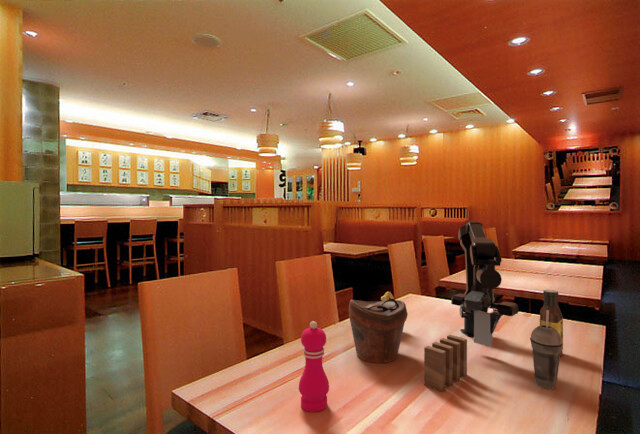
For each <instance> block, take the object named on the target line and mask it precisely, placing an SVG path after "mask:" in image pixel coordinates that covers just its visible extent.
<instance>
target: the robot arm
mask: <svg viewBox="0 0 640 434" xmlns="http://www.w3.org/2000/svg"><path fill="white" fill-rule="evenodd" d="M457 236H458V240H459V243H460V246H461V248H462V250H463V251H464V261H465V284H466V286H465V287H466V290H465V292H464V293H457V294H454V295H453V296H452V297H451V300H450V301H451V305H453V306H458V307H459V315H460V317H461V318H462V319H463V321H464V323H463V328H461V329H460V330H459V331H461V332H462V333H463V334H464V335H466V336H467V337H474V311H476V310H477V311H483V312H487V313H490V316H491V326H490V332H491V334H492V335H493V334H494V332H495V330H496V328H497V325H498V323H499V321H500V319H501V318H502V316H507V317H513V316H515V315H517V314H519V306H518V304H517V303H515V302H510V301H502V302H500V303H498V302H497V303H496V302H495V301H496V298H495V297H494V289H497V288H498V287H499V286H501V283H502V281H503V279H502V276H501V274H500V273H499V271H498V270H496V267H501V263H502V260H503V259H502V256H501V251H500V249H499V246H497V245H496V243H495V242H494V240H493V239H489V238H487V236H486V233H485V229H484V226H483V223H482V222H480V221H468V222H467V221H466V223H465V224H464V225H462V226H460V227H459V229H458V233H457ZM489 309H491V310H492V312H489Z"/></svg>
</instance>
